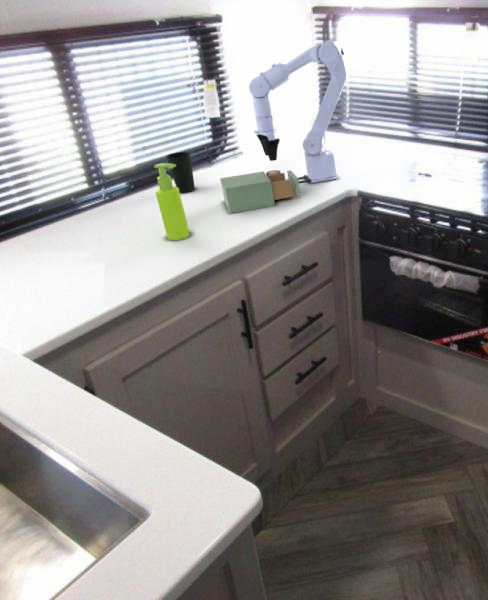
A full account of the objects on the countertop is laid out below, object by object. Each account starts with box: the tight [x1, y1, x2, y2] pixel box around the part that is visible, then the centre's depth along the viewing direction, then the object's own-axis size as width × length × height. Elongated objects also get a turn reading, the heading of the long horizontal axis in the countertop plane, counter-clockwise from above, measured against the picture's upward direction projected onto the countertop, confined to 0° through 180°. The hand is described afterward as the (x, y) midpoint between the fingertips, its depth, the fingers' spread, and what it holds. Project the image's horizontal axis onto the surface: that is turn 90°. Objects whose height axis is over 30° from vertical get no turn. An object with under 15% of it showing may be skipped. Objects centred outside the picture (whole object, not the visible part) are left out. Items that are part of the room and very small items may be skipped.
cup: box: [165, 151, 196, 194], centre depth 190 cm, size 8×8×12 cm
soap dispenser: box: [153, 162, 190, 241], centre depth 152 cm, size 6×7×20 cm
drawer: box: [267, 169, 312, 201], centre depth 179 cm, size 17×10×6 cm, turn 111°
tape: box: [265, 169, 282, 175], centre depth 196 cm, size 5×5×3 cm
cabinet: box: [219, 170, 276, 214], centre depth 176 cm, size 14×12×8 cm
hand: (270, 157), depth 193 cm, fingers open, 7 cm apart
